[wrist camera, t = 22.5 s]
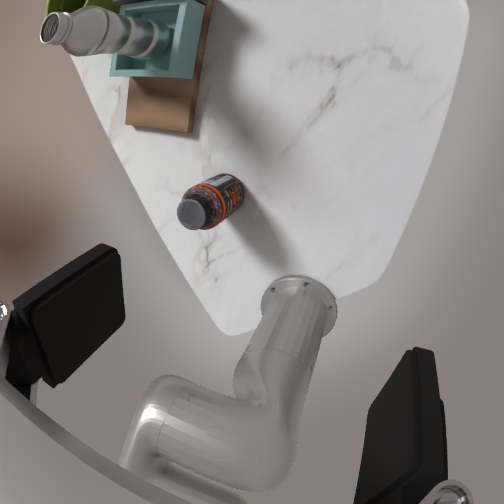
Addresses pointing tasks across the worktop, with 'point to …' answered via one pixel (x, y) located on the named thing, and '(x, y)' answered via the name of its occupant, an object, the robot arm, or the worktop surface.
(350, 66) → the worktop surface
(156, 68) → the teal open box
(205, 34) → the rail base
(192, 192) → the supplement bottle
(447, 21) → the worktop surface
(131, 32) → the plastic bottle
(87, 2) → the plant pot
